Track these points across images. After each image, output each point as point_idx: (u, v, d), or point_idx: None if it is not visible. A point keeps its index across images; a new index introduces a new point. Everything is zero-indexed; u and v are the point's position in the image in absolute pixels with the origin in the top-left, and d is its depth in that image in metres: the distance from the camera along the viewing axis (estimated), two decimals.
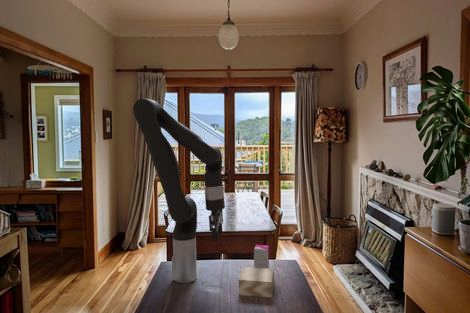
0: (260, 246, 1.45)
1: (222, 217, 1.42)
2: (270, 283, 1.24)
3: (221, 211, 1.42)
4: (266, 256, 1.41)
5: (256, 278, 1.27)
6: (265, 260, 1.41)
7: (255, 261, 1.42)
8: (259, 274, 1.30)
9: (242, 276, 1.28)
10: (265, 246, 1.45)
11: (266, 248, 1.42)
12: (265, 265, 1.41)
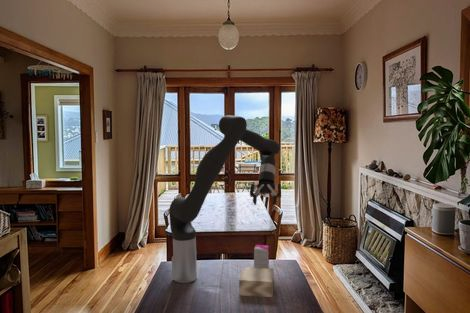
0: (260, 246, 1.45)
1: (252, 193, 1.61)
2: (271, 283, 1.24)
3: None
4: (266, 256, 1.41)
5: (257, 278, 1.27)
6: (265, 260, 1.41)
7: (255, 261, 1.42)
8: (259, 274, 1.30)
9: (243, 277, 1.28)
10: (265, 246, 1.45)
11: (266, 248, 1.42)
12: (265, 265, 1.41)
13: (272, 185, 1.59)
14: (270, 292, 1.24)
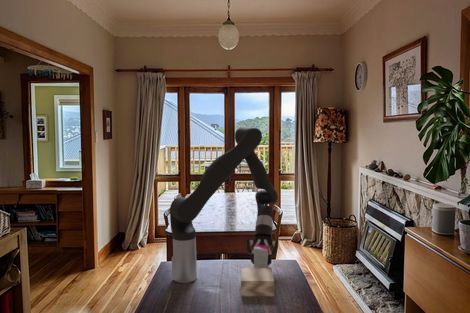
0: (260, 246, 1.45)
1: (249, 249, 1.49)
2: (273, 282, 1.24)
3: None
4: (266, 256, 1.41)
5: (258, 278, 1.27)
6: (265, 260, 1.41)
7: (255, 261, 1.42)
8: (259, 273, 1.30)
9: (244, 277, 1.27)
10: (265, 246, 1.45)
11: (266, 248, 1.42)
12: (265, 265, 1.41)
13: (269, 241, 1.47)
14: (272, 291, 1.25)
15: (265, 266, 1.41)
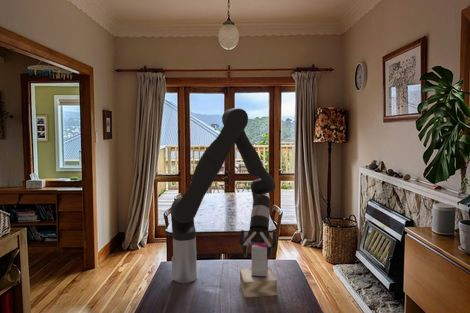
0: (258, 244, 1.30)
1: (242, 241, 1.35)
2: (275, 281, 1.25)
3: None
4: (265, 255, 1.26)
5: (260, 278, 1.27)
6: (264, 259, 1.27)
7: (253, 261, 1.27)
8: None
9: (246, 278, 1.26)
10: (263, 244, 1.30)
11: (265, 246, 1.28)
12: (264, 265, 1.27)
13: (266, 233, 1.33)
14: (275, 290, 1.25)
15: (264, 266, 1.27)
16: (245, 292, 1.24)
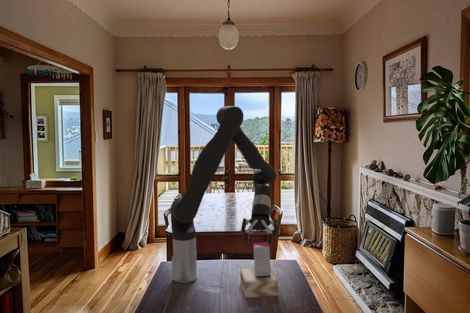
0: (259, 244, 1.30)
1: (244, 229, 1.39)
2: (276, 281, 1.25)
3: None
4: (268, 254, 1.27)
5: (261, 278, 1.27)
6: (267, 258, 1.27)
7: (256, 261, 1.27)
8: None
9: (247, 279, 1.26)
10: (264, 243, 1.30)
11: (267, 245, 1.28)
12: (268, 264, 1.27)
13: (267, 221, 1.37)
14: (276, 291, 1.25)
15: (268, 265, 1.27)
16: (246, 292, 1.24)
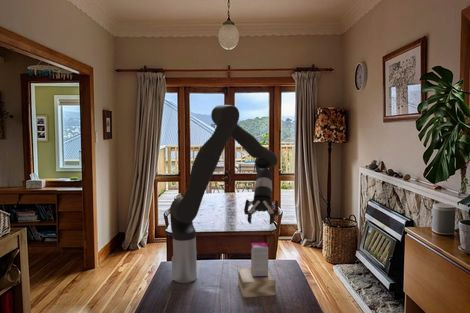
0: (257, 244, 1.30)
1: (247, 210, 1.46)
2: (274, 281, 1.25)
3: None
4: (267, 254, 1.27)
5: (259, 278, 1.27)
6: (266, 259, 1.27)
7: (255, 261, 1.27)
8: None
9: (244, 278, 1.26)
10: (262, 243, 1.31)
11: (266, 245, 1.28)
12: (266, 264, 1.27)
13: (269, 202, 1.45)
14: (273, 290, 1.25)
15: (266, 266, 1.27)
16: (244, 292, 1.24)
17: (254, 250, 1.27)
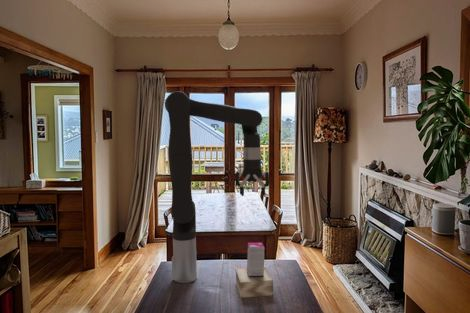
0: (253, 244, 1.30)
1: None
2: (272, 281, 1.25)
3: None
4: (263, 254, 1.27)
5: (256, 278, 1.27)
6: (262, 259, 1.27)
7: (251, 261, 1.27)
8: None
9: (242, 279, 1.26)
10: (259, 243, 1.31)
11: (262, 245, 1.28)
12: (262, 264, 1.27)
13: (259, 174, 1.44)
14: (271, 290, 1.25)
15: (262, 265, 1.27)
16: (241, 292, 1.24)
17: (250, 250, 1.27)
